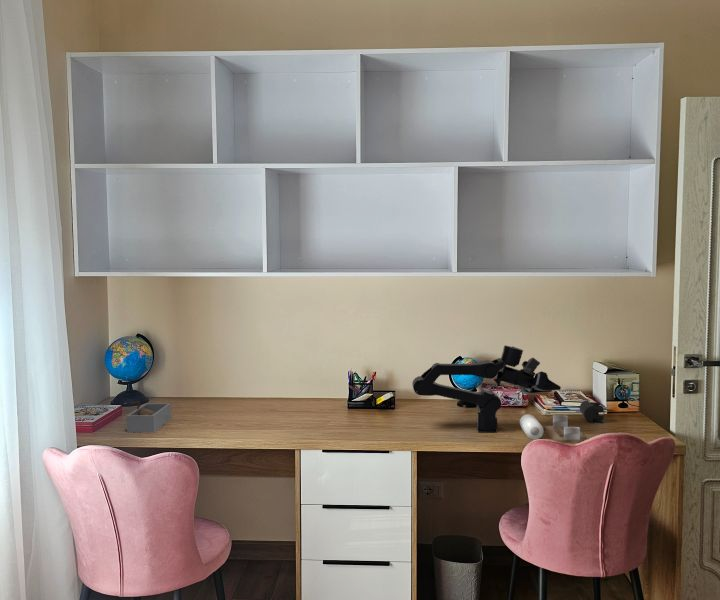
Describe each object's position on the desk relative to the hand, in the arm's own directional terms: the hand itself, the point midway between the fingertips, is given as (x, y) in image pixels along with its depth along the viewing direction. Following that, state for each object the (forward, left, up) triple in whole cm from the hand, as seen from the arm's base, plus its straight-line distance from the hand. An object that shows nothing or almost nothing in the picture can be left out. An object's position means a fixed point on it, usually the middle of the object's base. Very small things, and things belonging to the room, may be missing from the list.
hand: (556, 389), depth 253 cm
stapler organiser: (-150, +3, -15) cm, 151 cm away
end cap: (+17, +15, -15) cm, 27 cm away
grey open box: (-152, +3, -15) cm, 153 cm away
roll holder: (+2, -7, -15) cm, 17 cm away
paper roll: (-10, -6, -15) cm, 19 cm away
